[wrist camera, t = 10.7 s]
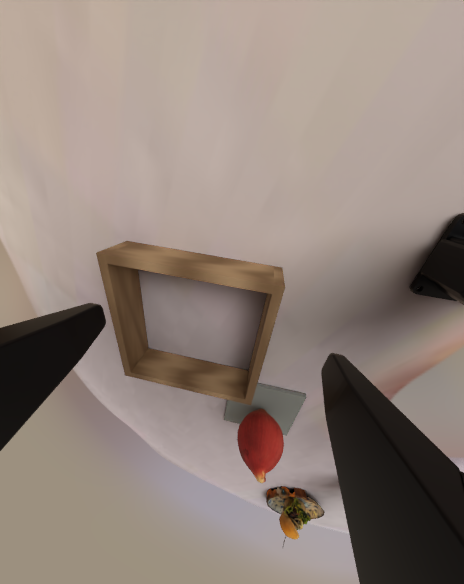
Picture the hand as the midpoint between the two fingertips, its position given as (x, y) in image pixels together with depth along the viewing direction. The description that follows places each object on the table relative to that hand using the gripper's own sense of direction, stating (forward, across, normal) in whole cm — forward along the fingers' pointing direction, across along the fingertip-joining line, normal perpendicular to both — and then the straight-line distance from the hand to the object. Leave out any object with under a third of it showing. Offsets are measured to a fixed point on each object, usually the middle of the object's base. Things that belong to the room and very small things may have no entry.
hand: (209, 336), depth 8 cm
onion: (+12, -6, +23) cm, 26 cm away
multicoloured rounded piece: (+12, -19, +53) cm, 58 cm away
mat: (+12, -6, +23) cm, 27 cm away
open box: (+12, +4, +9) cm, 16 cm away
